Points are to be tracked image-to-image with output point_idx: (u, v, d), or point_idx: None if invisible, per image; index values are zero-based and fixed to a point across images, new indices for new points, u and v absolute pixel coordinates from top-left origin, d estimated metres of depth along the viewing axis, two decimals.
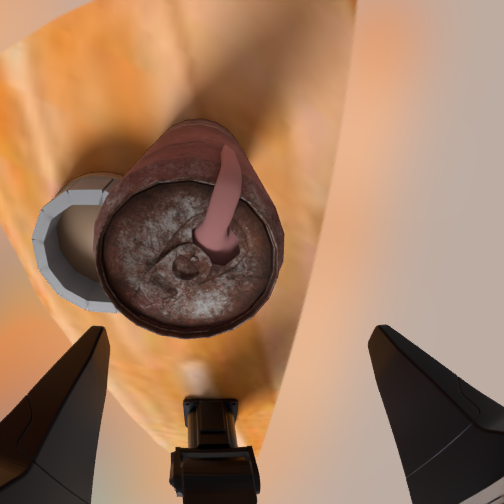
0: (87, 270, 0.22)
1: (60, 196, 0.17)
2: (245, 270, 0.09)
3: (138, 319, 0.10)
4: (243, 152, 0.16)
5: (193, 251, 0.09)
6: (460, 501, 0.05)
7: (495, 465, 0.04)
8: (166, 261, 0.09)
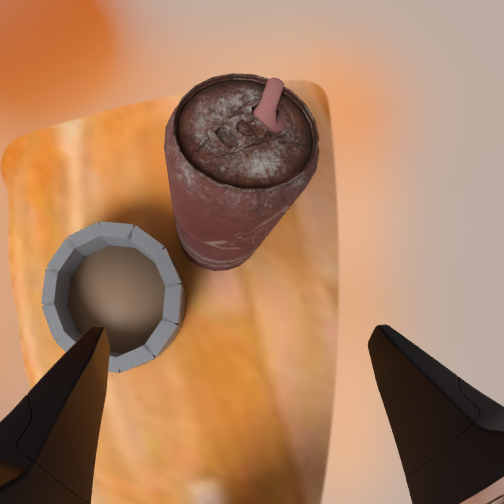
0: None
1: (90, 226, 0.19)
2: (292, 138, 0.11)
3: (195, 170, 0.10)
4: None
5: (252, 120, 0.11)
6: (460, 501, 0.05)
7: (495, 465, 0.04)
8: (232, 121, 0.11)
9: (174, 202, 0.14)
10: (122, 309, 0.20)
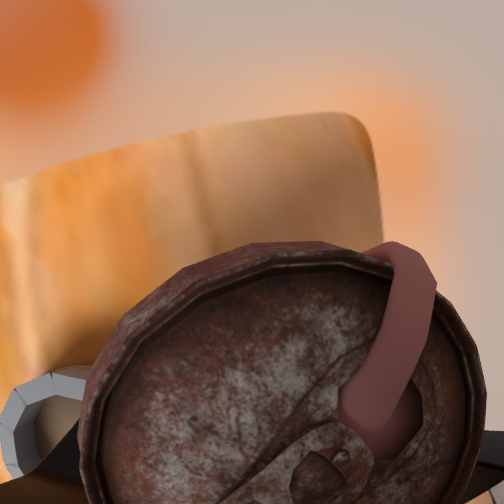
0: None
1: (41, 378, 0.11)
2: (429, 456, 0.03)
3: None
4: None
5: (337, 440, 0.03)
6: None
7: None
8: (276, 471, 0.03)
9: None
10: None
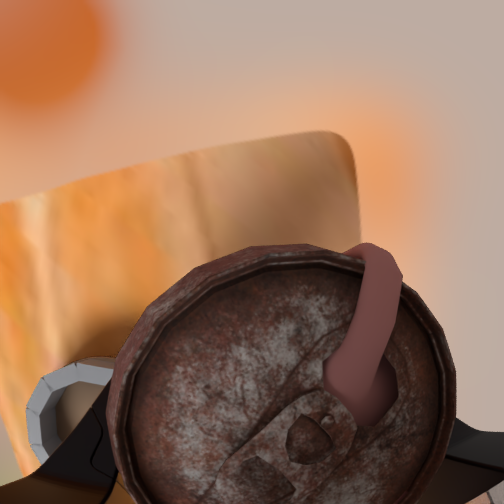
0: None
1: (66, 368, 0.14)
2: (406, 426, 0.04)
3: None
4: None
5: (323, 406, 0.04)
6: None
7: (449, 493, 0.04)
8: (274, 430, 0.04)
9: None
10: None
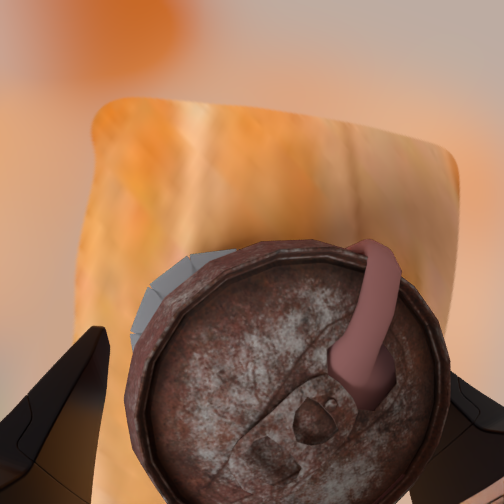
0: None
1: (224, 251, 0.16)
2: (403, 411, 0.05)
3: None
4: None
5: (328, 390, 0.05)
6: (460, 501, 0.05)
7: (495, 465, 0.04)
8: (283, 412, 0.04)
9: None
10: None
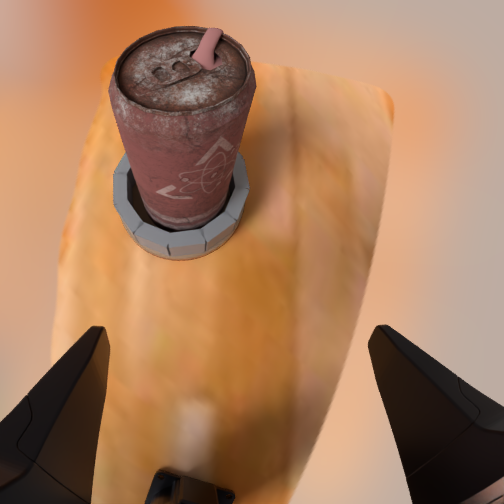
0: (147, 217, 0.23)
1: None
2: (226, 73, 0.11)
3: (129, 101, 0.10)
4: None
5: (189, 61, 0.11)
6: (460, 501, 0.05)
7: (495, 465, 0.04)
8: (169, 62, 0.10)
9: None
10: None
